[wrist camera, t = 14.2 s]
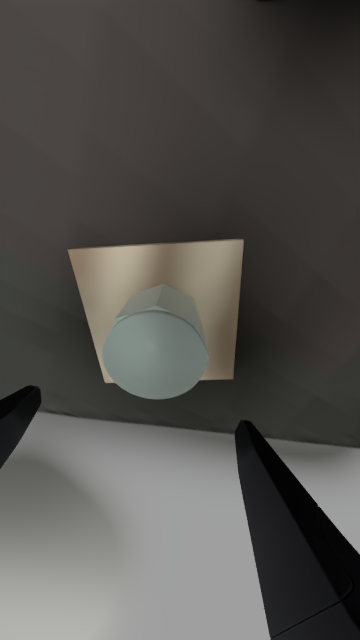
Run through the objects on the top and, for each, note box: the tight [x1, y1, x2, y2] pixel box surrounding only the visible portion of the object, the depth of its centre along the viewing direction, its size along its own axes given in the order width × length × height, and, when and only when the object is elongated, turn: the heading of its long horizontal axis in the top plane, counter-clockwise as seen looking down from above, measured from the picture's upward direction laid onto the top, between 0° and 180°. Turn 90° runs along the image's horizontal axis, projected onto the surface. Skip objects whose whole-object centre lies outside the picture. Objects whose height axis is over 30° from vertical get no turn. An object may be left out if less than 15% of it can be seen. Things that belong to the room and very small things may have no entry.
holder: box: [68, 239, 244, 383], centre depth 16 cm, size 12×12×3 cm
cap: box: [102, 284, 209, 399], centre depth 14 cm, size 6×6×5 cm
